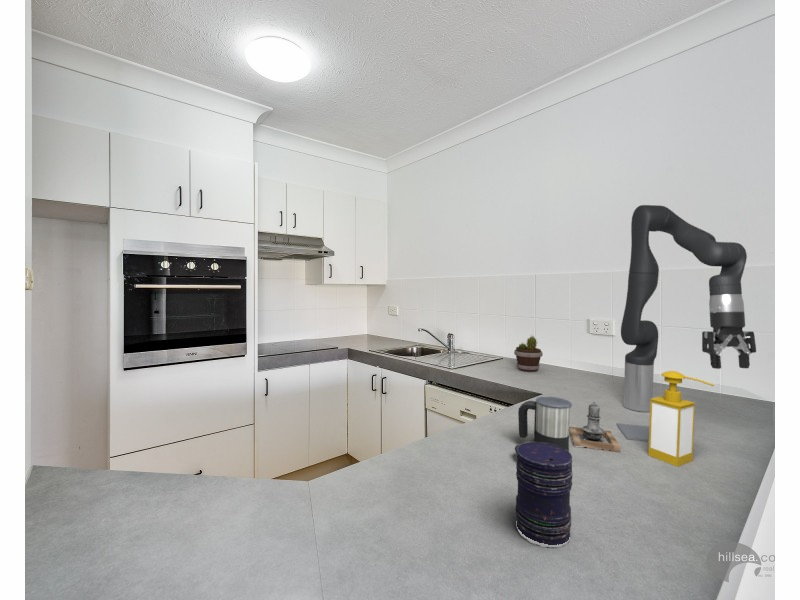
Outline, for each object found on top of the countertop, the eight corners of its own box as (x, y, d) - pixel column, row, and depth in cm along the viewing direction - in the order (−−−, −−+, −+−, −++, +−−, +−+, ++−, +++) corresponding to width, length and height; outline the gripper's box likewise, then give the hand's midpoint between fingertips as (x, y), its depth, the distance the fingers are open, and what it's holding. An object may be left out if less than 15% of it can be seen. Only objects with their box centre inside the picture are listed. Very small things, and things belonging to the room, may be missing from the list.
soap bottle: (702, 476, 92) (706, 380, 91) (648, 455, 103) (651, 369, 102) (717, 469, 95) (721, 377, 94) (663, 450, 106) (666, 367, 105)
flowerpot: (509, 367, 212) (509, 331, 211) (535, 366, 213) (535, 331, 213) (520, 373, 197) (520, 335, 196) (547, 372, 199) (548, 335, 198)
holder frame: (569, 431, 119) (569, 426, 119) (610, 436, 116) (610, 431, 116) (574, 446, 108) (574, 441, 108) (620, 452, 105) (620, 446, 104)
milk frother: (568, 449, 106) (570, 397, 105) (574, 476, 91) (576, 416, 91) (515, 442, 111) (517, 392, 110) (513, 466, 96) (514, 409, 95)
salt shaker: (607, 446, 108) (608, 405, 108) (585, 444, 110) (586, 403, 109) (600, 438, 114) (601, 399, 114) (579, 436, 115) (580, 397, 115)
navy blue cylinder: (507, 515, 76) (508, 442, 75) (554, 513, 76) (556, 441, 76) (528, 550, 66) (530, 466, 65) (582, 547, 67) (584, 464, 66)
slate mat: (616, 424, 125) (616, 423, 125) (658, 429, 122) (658, 427, 121) (626, 439, 114) (626, 437, 114) (672, 444, 110) (673, 442, 110)
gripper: (736, 311, 112) (740, 366, 111) (692, 311, 111) (695, 367, 109) (762, 310, 105) (767, 369, 103) (715, 310, 103) (719, 369, 102)
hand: (730, 368), depth 106 cm, fingers open, 8 cm apart
